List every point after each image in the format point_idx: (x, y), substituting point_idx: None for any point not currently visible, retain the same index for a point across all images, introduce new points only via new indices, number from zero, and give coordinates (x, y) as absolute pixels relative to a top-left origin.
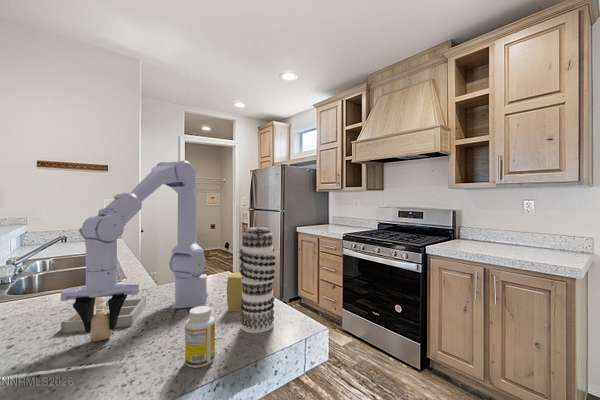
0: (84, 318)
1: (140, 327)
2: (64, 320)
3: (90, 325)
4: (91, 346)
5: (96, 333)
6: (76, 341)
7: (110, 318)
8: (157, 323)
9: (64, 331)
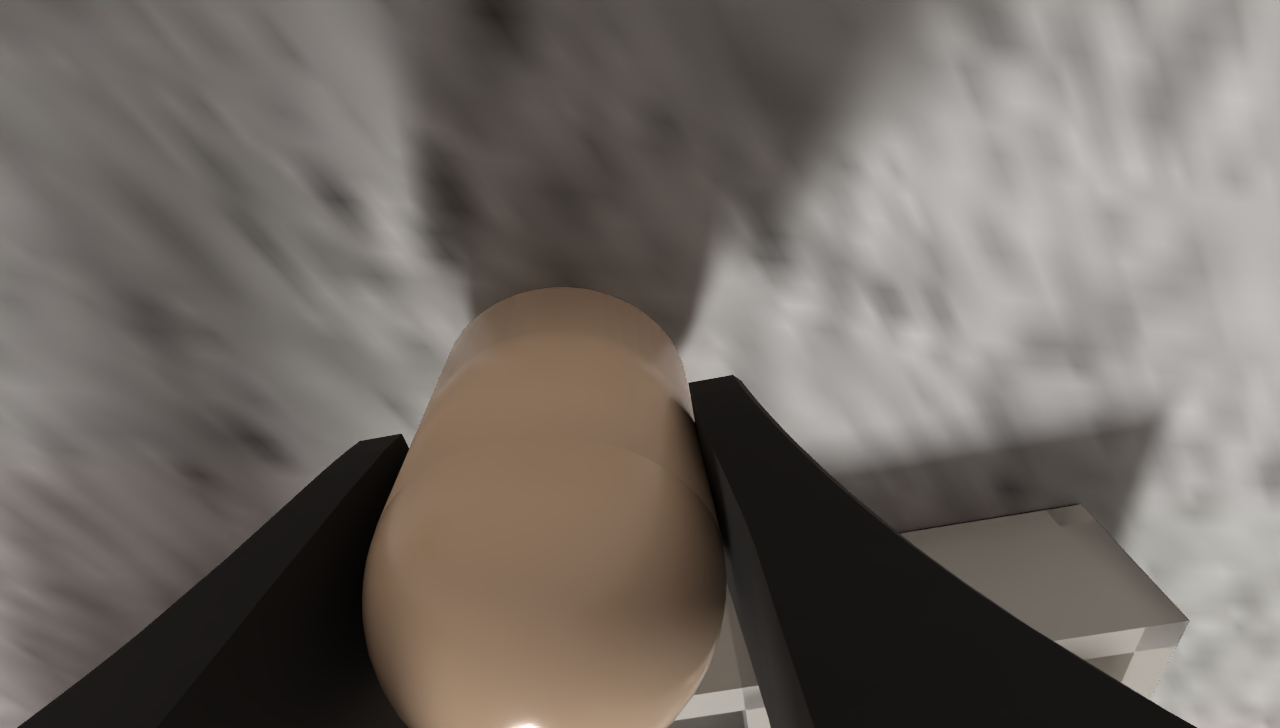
0: (809, 529)
1: None
2: (1164, 657)
3: (691, 461)
4: (622, 262)
5: (541, 338)
6: (868, 385)
7: (273, 576)
8: None
9: (1074, 536)
